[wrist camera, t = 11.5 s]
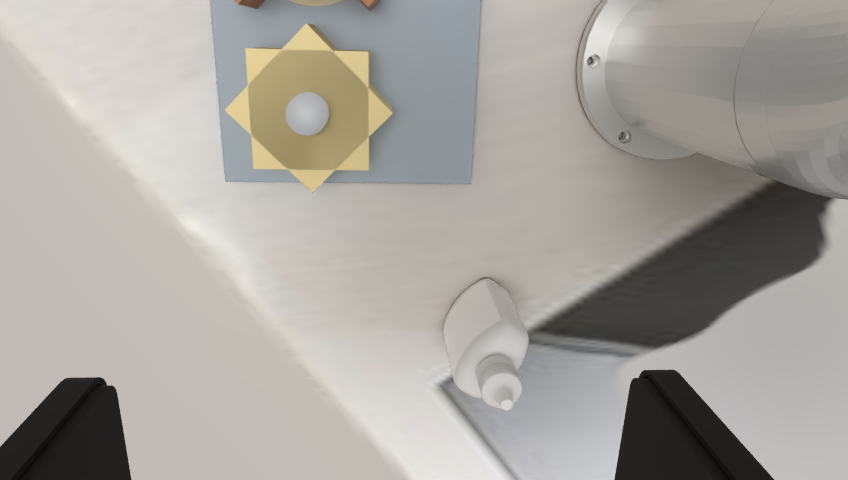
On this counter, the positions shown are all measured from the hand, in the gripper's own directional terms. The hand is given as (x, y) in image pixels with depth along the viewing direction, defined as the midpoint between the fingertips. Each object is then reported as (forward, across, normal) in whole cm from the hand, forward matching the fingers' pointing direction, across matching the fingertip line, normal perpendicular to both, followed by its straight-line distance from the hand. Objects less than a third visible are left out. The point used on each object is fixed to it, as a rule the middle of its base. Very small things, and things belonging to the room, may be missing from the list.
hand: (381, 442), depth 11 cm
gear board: (+30, +2, -8) cm, 31 cm away
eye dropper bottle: (+31, -7, +12) cm, 34 cm away
